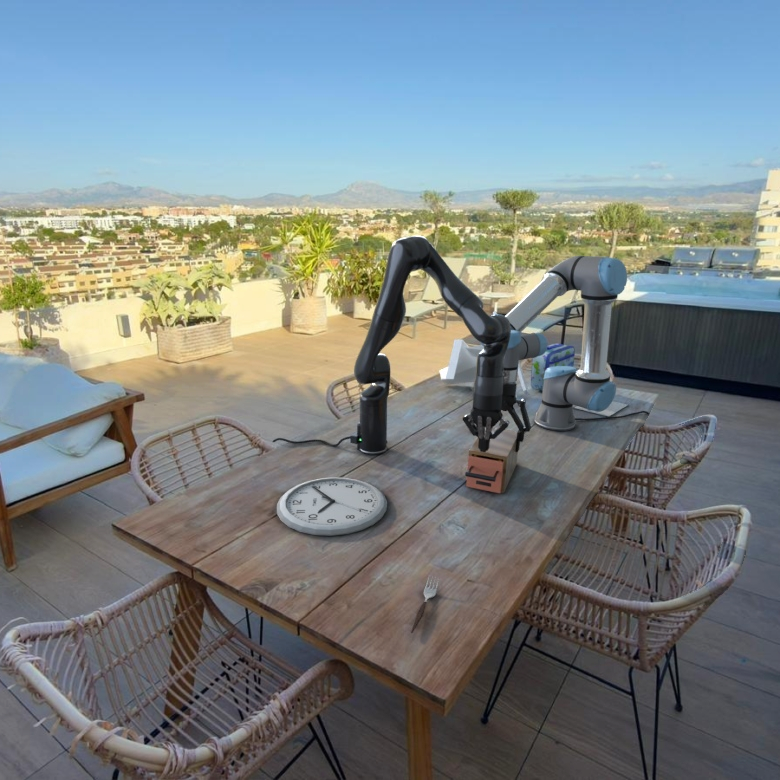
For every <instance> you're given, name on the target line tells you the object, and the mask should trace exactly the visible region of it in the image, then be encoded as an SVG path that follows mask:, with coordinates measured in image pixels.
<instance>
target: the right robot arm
mask: <svg viewBox="0 0 780 780" xmlns="http://www.w3.org/2000/svg"><path fill="white" fill-rule="evenodd" d="M627 283H628V271H627V268H626V265H625V264H624V262H623V261H622V260H621V259H619V258H615V257H610V256H588V255H575V256H571V257H568V258H567V259H564V260H562V261H561V262H559V263H557V264H556V265H554V266H553V267H551V268H550V270H548V271H547V272H546V273H545V274H544V275H542V281H541V282H540V283H539V284H537V285H536V286H535V287H534V288H533V289H532V290H531V291H530V292H529V293H528V294H527V295H526V296H525V297H523V299H522V300H521V301H519V302H518V303H517V304H516V305H515V307H513V308H512V309H511V310H510V311H509V312H508V313H507V314H506V315H504V316H505V317H506V318H507V319H508V320H509V322H510V326H511V336H510V340H509V344H508V348H507V351H506V354H505V357H504V368H503V392H502V404H501V412H508V414H509V415H510V416H511V419H512V420H513V422H514V424H515V426H516V427H517V431H518V432H517V441H516V451H515V452H518V453H519V451H520V447H521V443H523V442H524V439H525V433H526V432H528V433H529V432H530V431H531V429H532V425H531V421H530V418H529V414H528V411H527V407H526V402H527V400H526V399H525V398H522V399H519V398H516V395H517V385H518V384H517V381H518V363H519V362H520V361H523V360H528V359H529V360H530V359H533V358H536V357H538V356H541V355H543V354H544V353H545V352H546V350H547V347H548V346H549V345H548V339H547V337H546V336H545V335H544V334H542V333H541V332H530V333H526V332H523V331H524V330H525V329H526V328H527V327H528V326H529V325H530V324H532V322H533V321H534V320H535V319H536V318H537V317H538V316H540V314H542V313H543V312H544V311H545V309H547V308H548V307H549V306H550V304H552V302H554V300H556V299H557V298H558V297H562V296H564V295H565V294H566V293H567V292H569V291H580V299H581V300H582V301H583V302H584V312H583V314H584V315H583V326H582V328H583V329H582V338H581V339H582V341H581V355H580V367H579V369H578V368H577V367H576V366H573V367H571V366H555V367H549V368H547V369H546V371H545V375H544V378H543V379H544V381H543V390H542V394H541V402H540V405H539V407H538V410H537V411H536V413H535V417H534V424H535V425H536V426H537V427H539V428H542V429H544V430H549V431H556V432H567V431H572V430H574V429H575V428H576V421H599V420H611V419H612V420H613V419H623V418H626V417H630V416H633V415H638V414H644V413H645V414H647V415H650V413H649V412H648V411H646V410H640V411H636V412H630V413H627V414H624V415H619V416H616V415H615V416H609V417H608V416H604V417H593V418H592V417H591V418H582V417H581V418H580V417H579V418H578V417H576V416H575V413H574V407H573V406H575V407H576V406H579V407H582V408H585V409H588V410H592V411H596V412H601V411H604V410H605V409H606V408H608V406H609V405H610V404H611V402H612V401H614V398H615V396H616V392H617V386H616V384H615V383H614V382H613V381H611V380H610V379H611V373H610V372H609V371H608V370H607V365H608V364H607V363H608V351H609V343H610V341H609V340H610V331H611V320H612V309H613V303H614V302H615V301H617V300H618V298H619V297H618V296H619V295H620V294H622V293H623V292H624V290H625V287H626V286H627ZM479 343H480V345H482V346H484V344H483V343H481V342H479ZM515 404H517V406H518V407H519V410H520V414H521V417H522V420H521V418H520V416H519V415H518V413H517V411H516V408H515ZM575 417H576V418H575ZM472 418H473V417H472ZM472 421H473V423H474V424H475V426H476V427H477V429H478V425H477V424H476V422H475V421H474V419H473V420H472ZM522 421H523V422H522Z"/></svg>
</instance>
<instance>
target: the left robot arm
mask: <svg viewBox="0 0 780 780" xmlns="http://www.w3.org/2000/svg"><path fill="white" fill-rule="evenodd" d="M420 270H421V271H423V272H424V273H425V274H427V275H428V276H429V277H431V278H432V280H433V281H434V282H435V284H436V286H437V289H438V291H439V294H440V296H441V298H442V300H443V301H444V303H445V305H447V306H448V307H449V309H450V310H451V311H452V312H453V313H454V314H456V315H457V316H458V317H459V318H460V319H461V320H462V322H463V323H464V325H465V327H466V328H467V330H468V331H469V332H470V334H471V336H472V337H473V338H474V339H475V340H476V341H477V342H479V343H480V342H481V343H483V344H484V348H483V350H482V351H481V352H480V353H479V354H478V356H477V364H476V376H475V381H474V382H473V396H472V409H471V410H470V413H468V414H464V415H463V416H462V421H463V423H464V424H465V426H466V427H467V429H468V430H469V431H470V434H471V435H472V436H474V437H476V438H479V443H478V448H479V449H480V451H481V452H486V451H488V449H489V447H490V439H495V438H496V437H497V436H498V435H499V434H500V433H502V432H503V431H504V430H505V429H507V428H508V427H509V425H510V421H509V420H506V418H504V417H503V416H504V415H503V411H502V410H501V404H502V392H503V368H504V357H505V354H506V351H507V348H508V344H509V340H510V336H511V326H510V322H509V320H508V319H507V318H506V317H505V316H506V315H503V314H500V313H497V314H495V315H493V314H491V315H489V314H488V313H487V312H486V311H485V310H484V301H482V299H481V298H480V297H479V296H478V295H477V294H476V293H475V292H474V291H473V290H472V289H470V288H469V287H468V286H467V285H466V284H465V283H464V282H463V281H462V280H461V279H460V278H459V276H457V275H456V274H455V272H454V271H453V270H452V269H451V268H450V266H449V265H448V263H446V261H445V260H444V259H443V258H442V256H441V254H440V253H439V252H438V250H437V249H436V248H435V247H434V246H433V245H432V243H431V242H430V241H429V240H428V239H427V238H426V237H424V236H421V235H412V236H406V237H402V238H399V239H397V240H395V241H394V242H393V243H392V245H391V247H390V249H389V251H388V256H387V262H386V266H385V271H384V276H383V280H382V284H381V288H380V291H379V295H378V298H377V300H376V304H375V307H374V310H373V312H372V316H371V319H370V324H369V327H368V330H367V332H366V335H365V337H364V341H363V343H362V345H361V347H360V350H359V352H358V354H357V357H356V359H355V362H354V367H353V374H354V378H355V380H356V382H357V383H359V384H361V385H369V386H368V387H367V388H366V389H364V390H363V391H361V393H360V394H359V422H358V423H357V425H356V431H355V432H354V433H352V434H351V435H349V436H346V437H342V438H341V439H340V440H339V441H338V442H337V443H335V444H332V443H330V442H328V441H325V440H323V439H306V440H300V441H299V440H298V441H294V440H290V439H286V438H283V437H276V438H274V439H272V441H271V442H272V443H276V442H277V441H282V442H287V443H289V444H296V445H297V444H306V443H315V442H317V443H321V444H322V443H323V444H325V445H326V446H329V447H338V446H340V445H341V444H342V442H344V441H346V440H349V441H350V444H353V445H357V446H356V450H357V451H360V452H361V453H363V454H365V455H371V456H372V455H373V456H374V455H376V456H377V455H381V454H384V453H386V452H387V450H388V439H387V438H388V437H387V436H388V398H389V394H390V386H391V385H390V383H391V372H392V371H391V362H390V359H389V358H388V356H387V355H386V354H384V353H381V351H383V350H384V348H385V347H386V346H387V345H388V344H389V343H390V342H391V341H392V340H393V339H395V337H396V336H397V335H398V333H400V331H401V328H402V325H403V323H404V320H405V318H406V313H407V306H406V301H405V296H404V290H405V287H406V283H407V282H408V281H407V280H408V278H409V276H410V274H411V273H413V272H416V271H420ZM481 343H480V344H481ZM472 417H473V418H472ZM473 419H474V421H475V422H476V424H477V425H478V429H477V427H476V424H474V423H473V421H472V420H473ZM497 424H498V426H499V427H497V428H498V429H497V430H496V431H495V432H493V433H491V432H492V428H493V427H494V428H495V426H496V425H497ZM485 427H486V430H485ZM484 435H485V437H484Z"/></svg>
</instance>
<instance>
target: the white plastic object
mask: <svg viewBox="0 0 780 780" xmlns="http://www.w3.org/2000/svg"><path fill="white" fill-rule="evenodd" d="M495 314H498V312H497V311H496V310H495V311H492V315H495ZM483 348H484V346H482V344H479V345H473V346H469V345H468V343H466V342H465V340H464V339H463V338H460V339H458V338H454V340H453V344H452V349H451V353H450V357H449V362H448V366H446V367H444V368H442V369H440V370H439V371H438V372H439V376H440V381H442V383H443V384H444V385H445V386H449V385H458V384H467V383H468V384H469V383H474V381H475V376H476V364H477V356H478V354H479V353H480V352H481V351H482V350H483ZM522 368H523V367H522V366H521V362H520V361H519V363H518V375H517V377H518V380H519V382H520V385H521V389H522V391H523V393H524V395H525V396H526V397H528V396H531V395H530V390H529V388H528V387H529V386H528V384H527V381H526V378H525V375H524V371H523V369H522ZM516 399H518V398H517V394H516Z"/></svg>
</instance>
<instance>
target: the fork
mask: <svg viewBox="0 0 780 780" xmlns="http://www.w3.org/2000/svg"><path fill="white" fill-rule="evenodd" d="M430 576H431V574H429V575H428V578H427V581H426V585H425V587H424V589H423V595H424V598H425V600H424V601H423V603H422V604H421V605H420V607H419V608H418V610H417V613H416V615H415V619H414V622H413V626H412V629H411V630H410V631H411V632H410V634H413V633H414V632H415V629H416V627H418V624H419V622H420V621H421V619H422V618H423V616H424V613H425V609H426V605H427V603H428V600H429V599H432V598H434V597H435V596H436V595H437V592H438V588H439V584H440V583H439V582H440V576H439V577H438V579H437V577H435V578H434V575H432V577H431V579H430ZM433 578H434V579H433ZM433 580H434V581H433ZM436 580H437V582H436ZM429 582H430V583H429ZM432 583H433V584H432ZM435 585H436V586H435Z"/></svg>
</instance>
